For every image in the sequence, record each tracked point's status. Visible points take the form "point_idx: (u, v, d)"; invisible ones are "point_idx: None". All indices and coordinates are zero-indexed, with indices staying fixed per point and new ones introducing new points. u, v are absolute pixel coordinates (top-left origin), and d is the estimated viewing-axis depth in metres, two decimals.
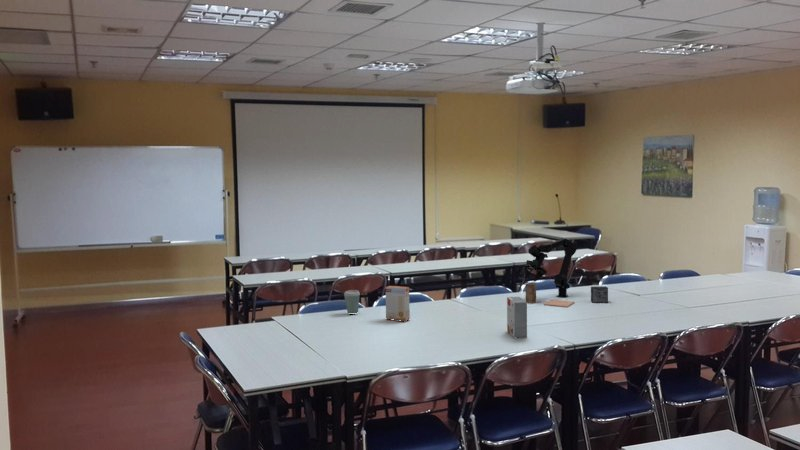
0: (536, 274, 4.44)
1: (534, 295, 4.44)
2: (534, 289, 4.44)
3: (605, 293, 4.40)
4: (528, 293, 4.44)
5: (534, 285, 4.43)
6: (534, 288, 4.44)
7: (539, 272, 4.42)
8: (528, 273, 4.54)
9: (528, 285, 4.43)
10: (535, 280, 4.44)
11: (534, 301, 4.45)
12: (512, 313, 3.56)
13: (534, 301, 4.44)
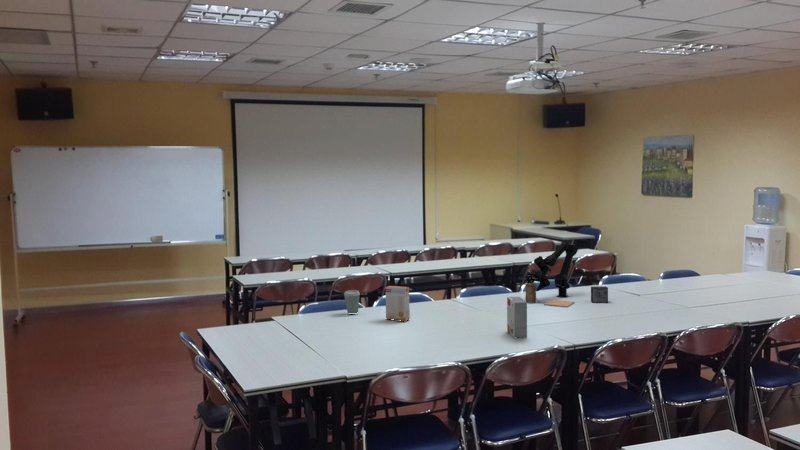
0: (539, 284, 4.42)
1: (534, 295, 4.44)
2: (534, 289, 4.44)
3: (605, 293, 4.40)
4: (528, 293, 4.44)
5: (534, 285, 4.43)
6: (534, 288, 4.44)
7: (543, 282, 4.41)
8: None
9: (528, 285, 4.43)
10: (537, 290, 4.42)
11: (534, 301, 4.45)
12: (512, 313, 3.56)
13: (534, 301, 4.44)
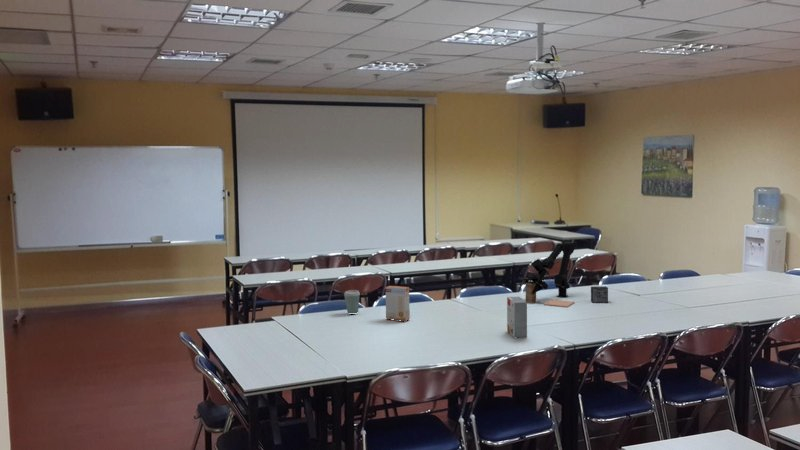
0: (535, 287, 4.43)
1: (534, 295, 4.44)
2: None
3: (605, 293, 4.40)
4: (528, 293, 4.44)
5: (534, 285, 4.43)
6: None
7: (538, 285, 4.42)
8: None
9: (528, 285, 4.43)
10: (533, 293, 4.42)
11: (534, 301, 4.45)
12: (512, 313, 3.56)
13: (534, 301, 4.44)
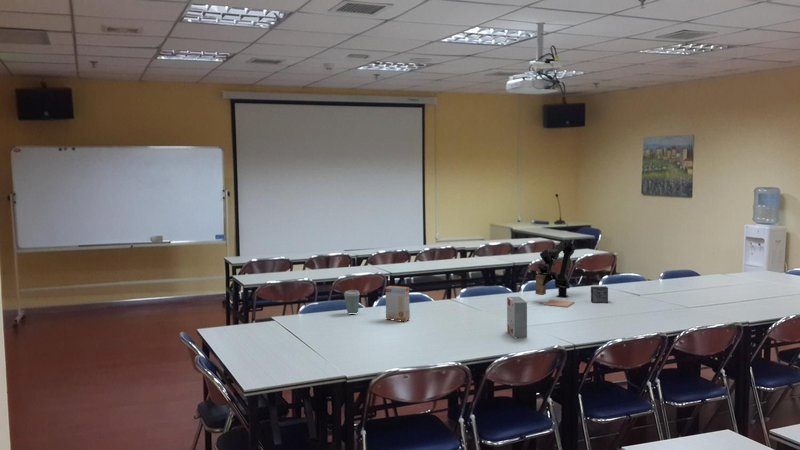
0: (545, 278, 4.38)
1: (544, 287, 4.39)
2: (544, 280, 4.38)
3: (605, 293, 4.40)
4: (539, 285, 4.38)
5: (544, 276, 4.38)
6: None
7: (549, 276, 4.37)
8: None
9: (539, 277, 4.37)
10: (544, 284, 4.37)
11: (544, 293, 4.40)
12: (512, 313, 3.56)
13: (544, 293, 4.39)
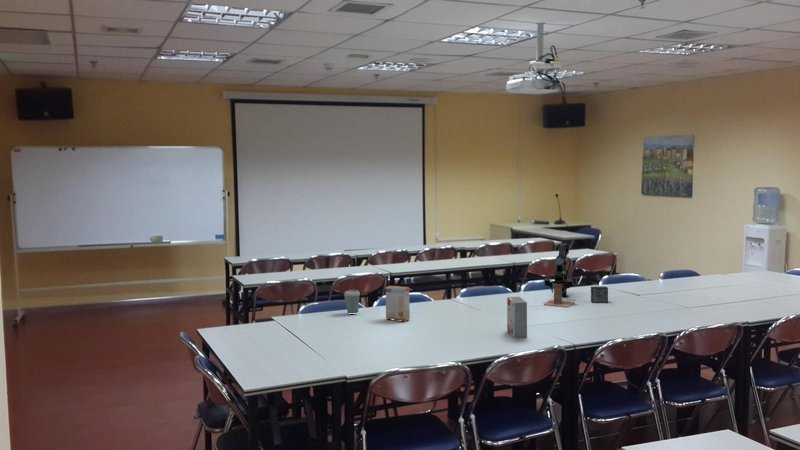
0: (564, 286, 4.34)
1: None
2: None
3: (605, 293, 4.40)
4: (557, 295, 4.33)
5: None
6: None
7: (567, 284, 4.35)
8: (552, 287, 4.39)
9: (557, 286, 4.33)
10: (564, 292, 4.33)
11: None
12: (512, 313, 3.56)
13: None
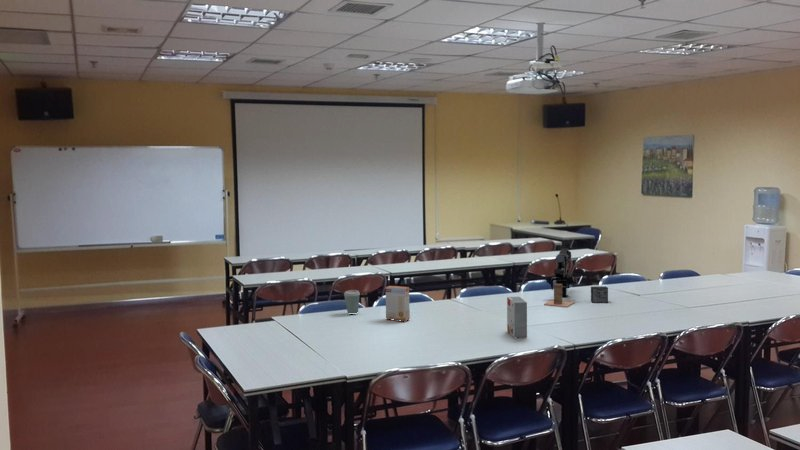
0: (566, 282, 4.42)
1: None
2: None
3: (605, 293, 4.40)
4: (557, 295, 4.33)
5: None
6: None
7: (569, 280, 4.42)
8: (552, 284, 4.49)
9: (557, 286, 4.33)
10: (566, 288, 4.41)
11: None
12: (512, 313, 3.56)
13: None
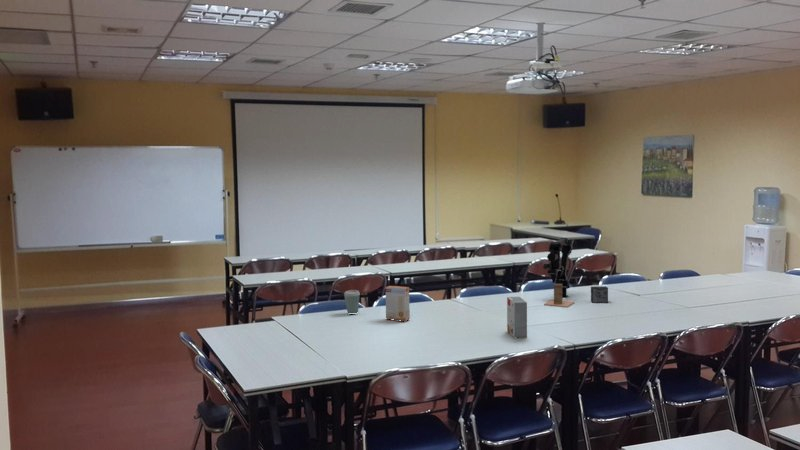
0: (551, 276, 4.46)
1: None
2: None
3: (605, 293, 4.40)
4: (557, 295, 4.33)
5: None
6: None
7: (550, 274, 4.44)
8: (559, 273, 4.53)
9: (557, 286, 4.33)
10: (553, 281, 4.46)
11: None
12: (512, 313, 3.56)
13: None
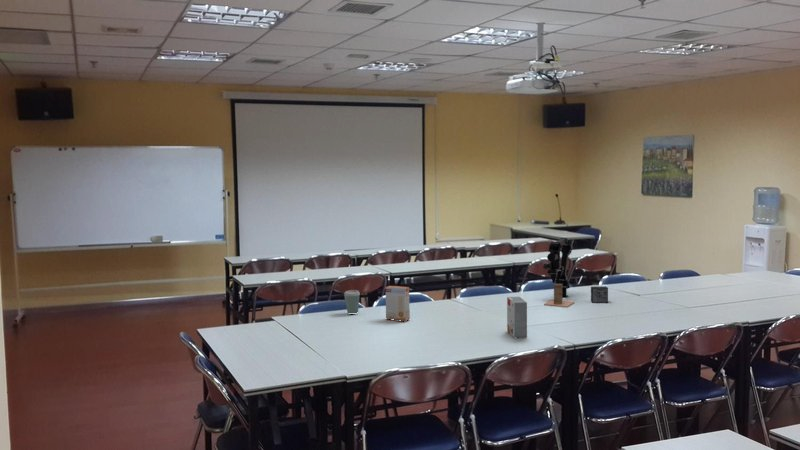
0: (551, 276, 4.46)
1: None
2: None
3: (605, 293, 4.40)
4: (557, 295, 4.33)
5: None
6: None
7: (550, 274, 4.44)
8: (559, 273, 4.53)
9: (557, 286, 4.33)
10: (553, 281, 4.46)
11: None
12: (512, 313, 3.56)
13: None
